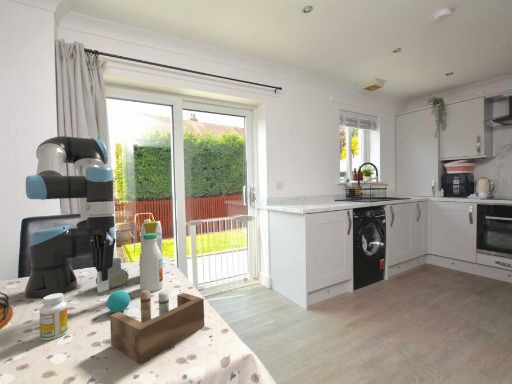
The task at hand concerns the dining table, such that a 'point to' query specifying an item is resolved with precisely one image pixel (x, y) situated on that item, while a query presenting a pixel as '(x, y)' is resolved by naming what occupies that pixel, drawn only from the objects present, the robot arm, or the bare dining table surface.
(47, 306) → the supplement bottle
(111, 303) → the ball
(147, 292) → the beech pin
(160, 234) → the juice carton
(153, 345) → the walnut backstop
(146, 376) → the dining table surface
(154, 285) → the milk bottle
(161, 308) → the grey pin
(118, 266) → the air freshener
